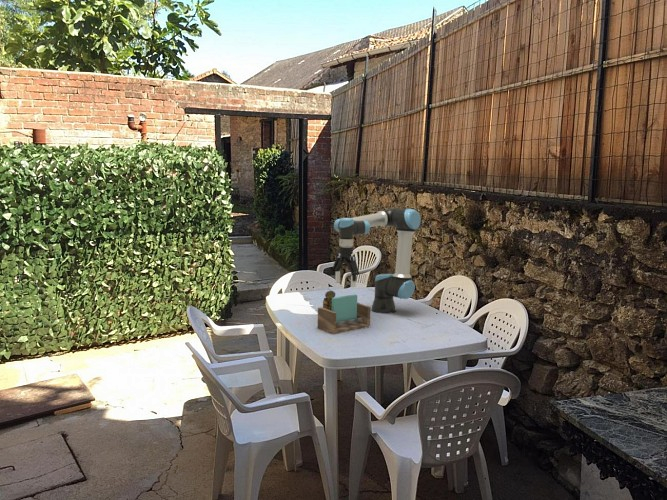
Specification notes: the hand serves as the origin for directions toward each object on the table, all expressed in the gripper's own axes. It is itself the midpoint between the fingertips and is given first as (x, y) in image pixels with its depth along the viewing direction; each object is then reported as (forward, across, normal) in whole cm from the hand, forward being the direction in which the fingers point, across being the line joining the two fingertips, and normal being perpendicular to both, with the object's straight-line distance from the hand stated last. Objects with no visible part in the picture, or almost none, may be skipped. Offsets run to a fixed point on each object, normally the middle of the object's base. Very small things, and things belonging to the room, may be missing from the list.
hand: (345, 284), depth 294 cm
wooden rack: (+24, 0, 0) cm, 24 cm away
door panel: (+22, 0, 0) cm, 23 cm away
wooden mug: (+24, -21, +5) cm, 32 cm away
